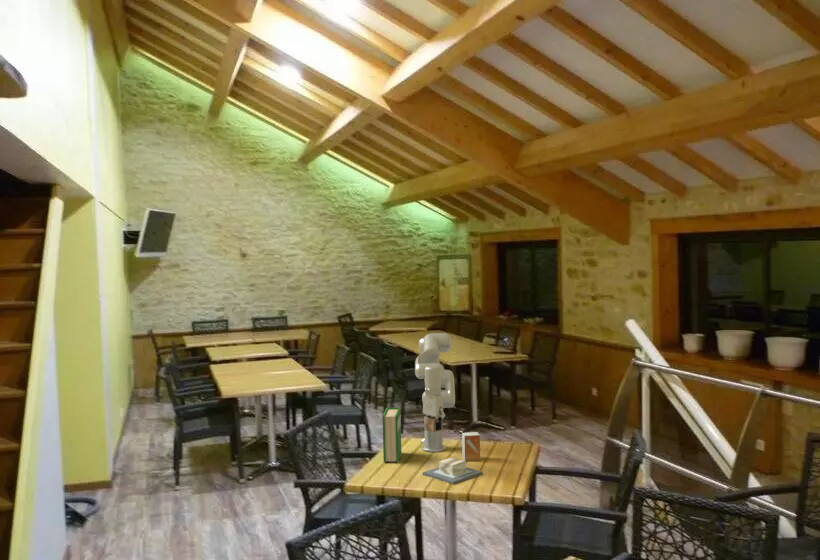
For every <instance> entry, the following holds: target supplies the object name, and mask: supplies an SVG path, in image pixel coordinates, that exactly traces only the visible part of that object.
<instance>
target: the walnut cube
mask: <svg viewBox="0 0 820 560" xmlns="http://www.w3.org/2000/svg"><path fill="white" fill-rule="evenodd" d="M438 419H439V417H438ZM436 422H437V421H436V417H434V416H432V417H427V418H425V426H424V431H425V430H426V431H430V432H437V431H441V430H442V431H443V427H444V426H443V420H442V421H441V430H436Z"/></svg>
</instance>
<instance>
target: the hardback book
mask: <svg viewBox="0 0 820 560" xmlns="http://www.w3.org/2000/svg"><path fill="white" fill-rule="evenodd" d="M401 415H402V414H401V407H386V408H385V410H384V411H383V414H382V446H383V447H382V449H383V451H382V452H383V456H382V457H383V463H384V462H386V463H387V462H396V463H397V462H399V463H400V460H401V456H400V455H402V422H401V421H402V420H401V418H402V417H401Z"/></svg>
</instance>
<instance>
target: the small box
mask: <svg viewBox="0 0 820 560" xmlns="http://www.w3.org/2000/svg"><path fill="white" fill-rule="evenodd" d="M461 451H462V452H461V453H462V455H461V457H462V460H464V461H466V462H472V461H473V462H475V461H476V460H477V461H481V435H480V434H479V432H478V431H473V432H472V431H471V432H462V433H461ZM477 461H476V462H477Z"/></svg>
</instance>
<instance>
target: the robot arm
mask: <svg viewBox="0 0 820 560" xmlns="http://www.w3.org/2000/svg"><path fill="white" fill-rule="evenodd" d="M418 350H419V355H418V356H417V357H416V358H415V361H414V374H415V377H416V378H417V379H419V380H423V379H424V392H423V393H422V395H421V401H422V410H421V412H422V414H423V417H424V418H423V419H424V420H423V422H424V425H423V426H424V427H425V418H427V417H432V416H434V417H436V421H437V422H436V430H441V421H442V422H443V420H444V418H445V417H446V414H445V412H444V409H447V408H448V409H450V408H451V409H452V408H454V407H455V404H456V390H455V377H454V376H455V375H454V373H453V371H452V370H450V369H445V368H444V365H443V364H442V363H440V360H439V358H440V356H441V353H449V352H450V351H451V350H452V338H451V335H450V334H449V333H447V332H446V333H445V332H439V333H438V332H434V333H428V334H425V336H423V337H422V338H420V339H419V341H418ZM442 388H443V389H442ZM438 417H439V419H438ZM420 443H422V444H423V445H422V446H421V450H423V451H424V452H428V453H437V452H443V451H445V450H446V448H447V447H446V445H445V444H444V443H443V430H441V431H437V432H430V431H426V430H425V429H424V438H421V440H420Z"/></svg>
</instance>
